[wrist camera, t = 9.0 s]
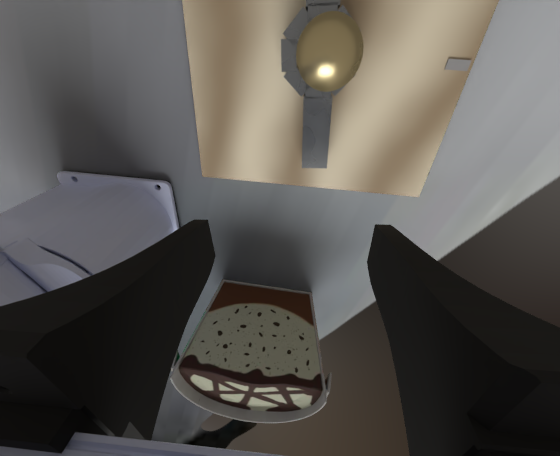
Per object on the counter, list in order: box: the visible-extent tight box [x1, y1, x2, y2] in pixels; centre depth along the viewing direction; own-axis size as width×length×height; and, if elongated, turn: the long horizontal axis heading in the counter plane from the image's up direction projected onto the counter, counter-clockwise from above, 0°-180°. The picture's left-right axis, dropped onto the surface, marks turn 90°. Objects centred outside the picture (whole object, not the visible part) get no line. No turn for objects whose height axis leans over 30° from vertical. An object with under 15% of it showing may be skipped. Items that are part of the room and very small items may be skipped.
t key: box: [281, 0, 361, 168], centre depth 14 cm, size 12×4×2 cm, turn 1°
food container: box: [170, 279, 332, 423], centre depth 24 cm, size 12×6×10 cm, turn 84°
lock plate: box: [182, 0, 499, 197], centre depth 14 cm, size 16×16×3 cm
